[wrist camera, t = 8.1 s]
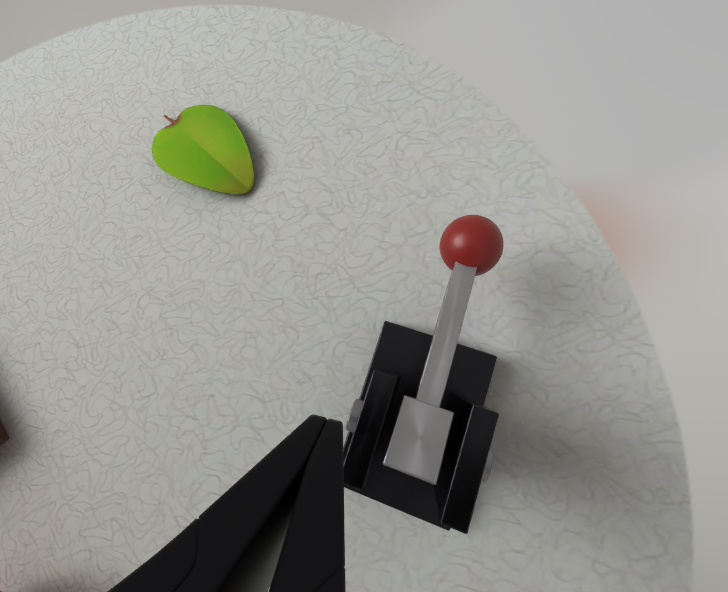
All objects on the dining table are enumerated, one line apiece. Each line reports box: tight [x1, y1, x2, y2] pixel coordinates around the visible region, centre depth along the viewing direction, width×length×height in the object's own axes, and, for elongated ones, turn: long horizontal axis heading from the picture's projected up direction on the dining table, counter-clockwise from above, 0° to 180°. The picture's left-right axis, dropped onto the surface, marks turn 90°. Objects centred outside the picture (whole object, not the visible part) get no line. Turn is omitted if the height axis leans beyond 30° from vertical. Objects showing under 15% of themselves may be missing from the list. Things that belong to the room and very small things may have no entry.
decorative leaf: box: [152, 105, 254, 194], centre depth 27 cm, size 8×9×1 cm
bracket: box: [343, 321, 499, 534], centre depth 18 cm, size 10×7×9 cm
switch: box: [383, 215, 503, 485], centre depth 17 cm, size 13×3×3 cm, turn 161°
